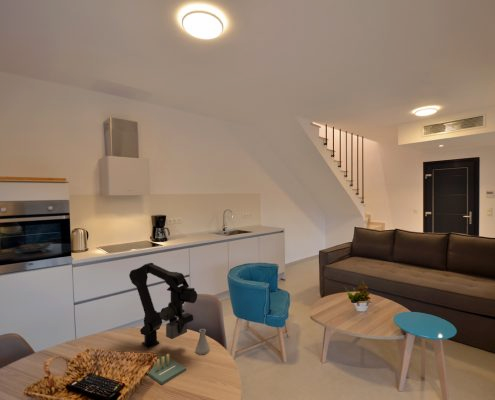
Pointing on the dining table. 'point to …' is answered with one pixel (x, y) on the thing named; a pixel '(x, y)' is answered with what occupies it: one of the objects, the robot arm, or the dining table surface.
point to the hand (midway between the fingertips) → (176, 332)
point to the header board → (165, 369)
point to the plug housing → (174, 329)
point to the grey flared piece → (202, 343)
